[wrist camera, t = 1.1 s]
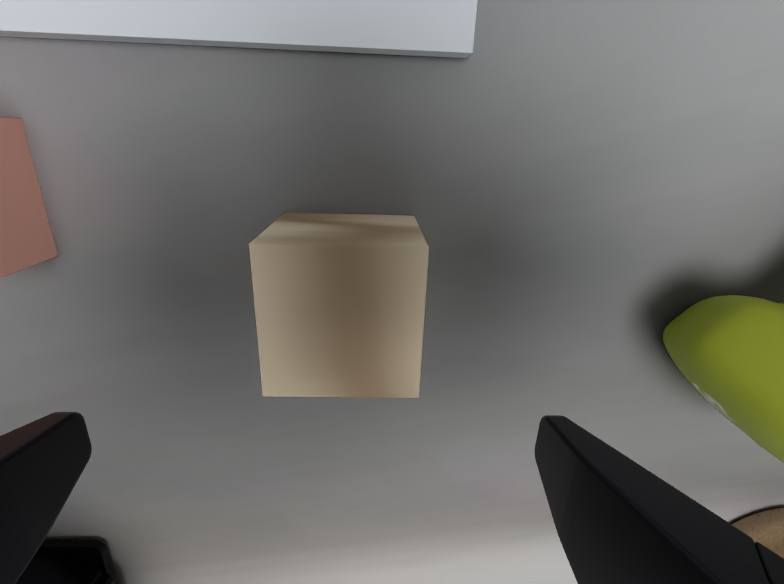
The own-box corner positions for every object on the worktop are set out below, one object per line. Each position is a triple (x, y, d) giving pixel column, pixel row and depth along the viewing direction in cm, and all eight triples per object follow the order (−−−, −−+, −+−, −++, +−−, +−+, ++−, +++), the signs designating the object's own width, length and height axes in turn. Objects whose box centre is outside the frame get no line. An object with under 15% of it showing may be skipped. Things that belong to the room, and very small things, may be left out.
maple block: (292, 327, 18) (262, 396, 13) (285, 211, 16) (248, 243, 11) (407, 329, 18) (418, 397, 13) (414, 215, 16) (429, 248, 12)
